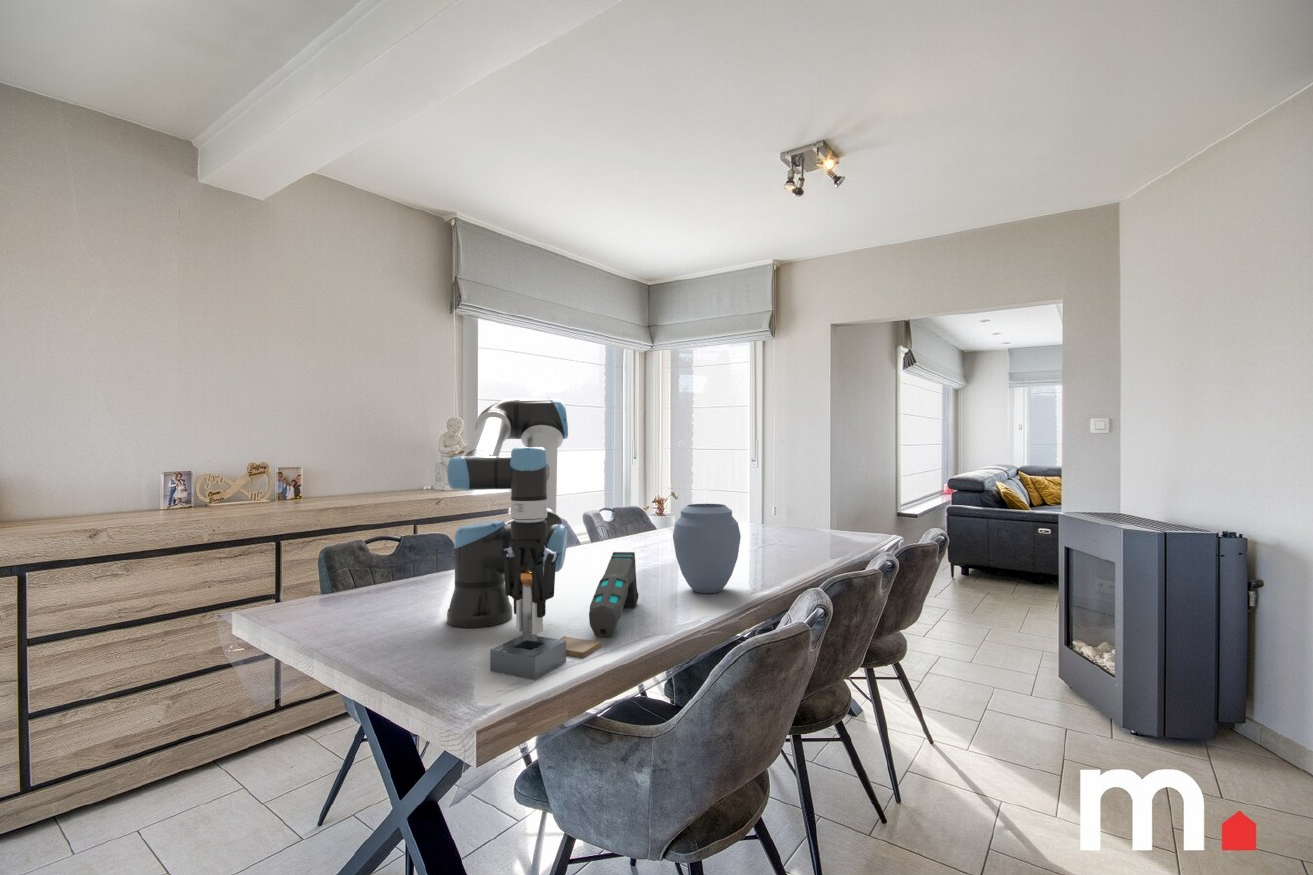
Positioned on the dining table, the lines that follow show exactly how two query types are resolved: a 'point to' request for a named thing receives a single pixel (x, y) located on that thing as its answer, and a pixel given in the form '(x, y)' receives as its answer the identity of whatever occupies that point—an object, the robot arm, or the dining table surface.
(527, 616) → the capped test tube
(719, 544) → the vase
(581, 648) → the rest pad
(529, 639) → the block
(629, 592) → the gun
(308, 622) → the dining table surface
